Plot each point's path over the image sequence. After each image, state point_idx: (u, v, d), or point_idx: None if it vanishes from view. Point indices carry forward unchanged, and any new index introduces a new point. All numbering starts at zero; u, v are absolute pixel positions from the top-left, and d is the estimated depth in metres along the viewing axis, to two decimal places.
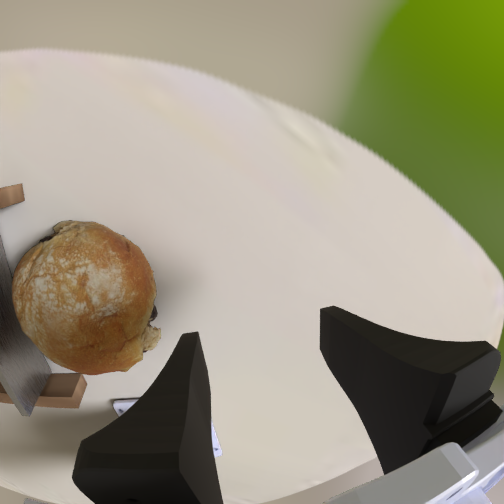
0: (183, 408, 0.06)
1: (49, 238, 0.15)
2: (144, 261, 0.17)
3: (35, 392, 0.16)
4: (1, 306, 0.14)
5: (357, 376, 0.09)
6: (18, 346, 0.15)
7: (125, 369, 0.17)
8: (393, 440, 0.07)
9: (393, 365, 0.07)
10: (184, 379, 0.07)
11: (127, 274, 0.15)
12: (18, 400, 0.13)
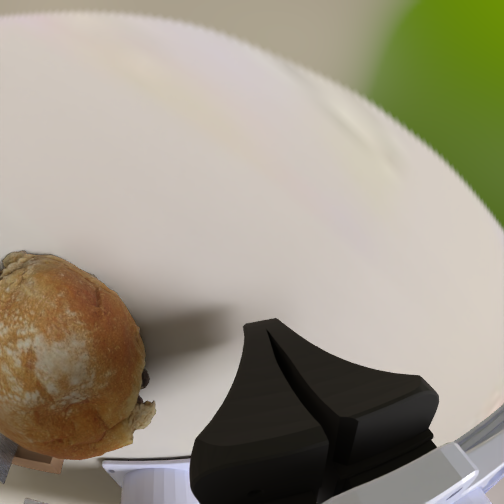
0: (288, 390, 0.06)
1: None
2: (124, 316, 0.11)
3: (7, 455, 0.09)
4: None
5: None
6: None
7: None
8: None
9: (308, 393, 0.06)
10: (271, 365, 0.08)
11: (97, 345, 0.09)
12: None
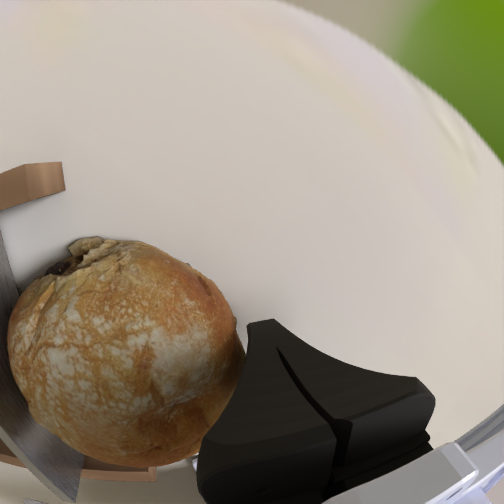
0: (293, 389, 0.06)
1: (64, 266, 0.10)
2: (227, 306, 0.11)
3: (76, 469, 0.10)
4: None
5: None
6: None
7: None
8: None
9: (303, 394, 0.06)
10: (276, 364, 0.08)
11: (216, 336, 0.09)
12: (58, 488, 0.08)
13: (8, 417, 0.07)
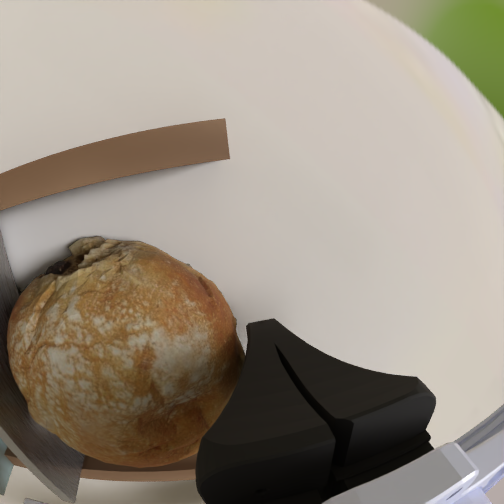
0: (293, 389, 0.06)
1: (64, 266, 0.10)
2: (228, 307, 0.11)
3: (75, 469, 0.10)
4: None
5: None
6: None
7: None
8: None
9: (304, 394, 0.06)
10: (275, 364, 0.08)
11: (216, 337, 0.09)
12: (58, 488, 0.08)
13: (8, 417, 0.07)
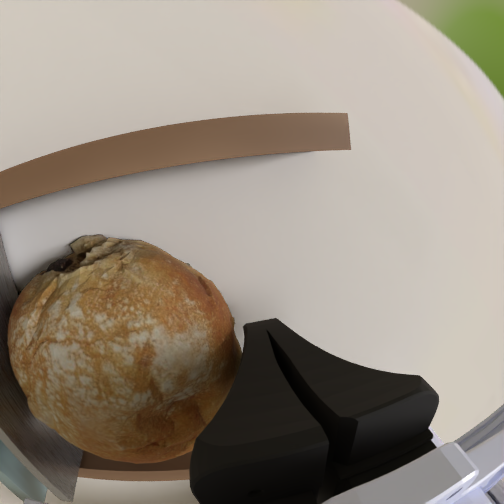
0: (288, 390, 0.06)
1: (66, 263, 0.10)
2: (226, 306, 0.11)
3: (73, 468, 0.10)
4: None
5: None
6: None
7: None
8: None
9: (308, 393, 0.06)
10: (271, 364, 0.08)
11: (214, 336, 0.09)
12: (55, 487, 0.08)
13: (6, 415, 0.07)
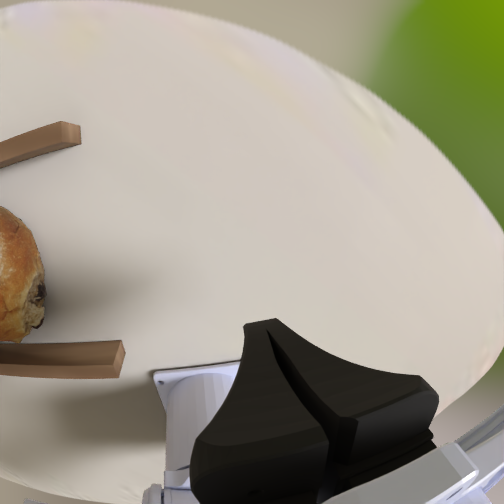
0: (288, 390, 0.06)
1: None
2: (30, 243, 0.15)
3: None
4: None
5: None
6: None
7: (16, 340, 0.15)
8: None
9: (308, 393, 0.06)
10: (271, 365, 0.08)
11: (7, 252, 0.13)
12: None
13: None
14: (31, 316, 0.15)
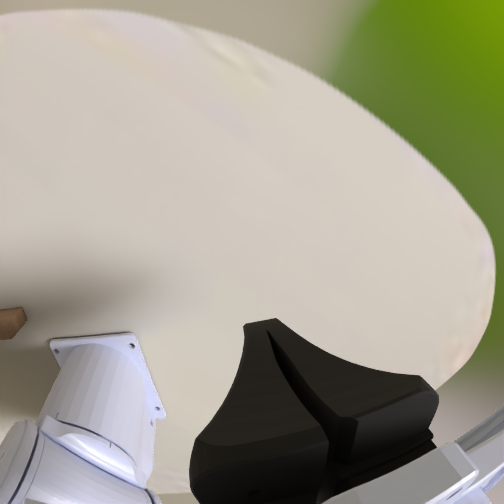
0: (288, 390, 0.06)
1: None
2: None
3: None
4: None
5: None
6: None
7: None
8: None
9: (308, 393, 0.06)
10: (271, 365, 0.08)
11: None
12: None
13: None
14: None
